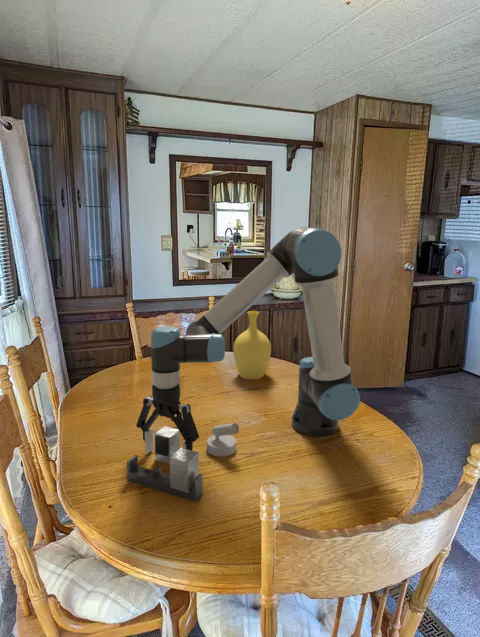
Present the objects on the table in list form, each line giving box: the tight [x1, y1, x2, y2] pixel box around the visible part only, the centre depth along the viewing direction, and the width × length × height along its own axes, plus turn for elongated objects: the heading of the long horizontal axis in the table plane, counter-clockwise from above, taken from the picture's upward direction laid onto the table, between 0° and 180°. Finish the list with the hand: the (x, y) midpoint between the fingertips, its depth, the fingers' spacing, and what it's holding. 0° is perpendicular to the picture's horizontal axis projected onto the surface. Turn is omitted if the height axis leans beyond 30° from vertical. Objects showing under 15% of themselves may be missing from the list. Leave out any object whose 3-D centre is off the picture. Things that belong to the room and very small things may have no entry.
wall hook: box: [206, 422, 240, 457], centre depth 127 cm, size 9×10×10 cm
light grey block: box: [153, 425, 181, 465], centre depth 122 cm, size 6×5×8 cm
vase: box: [232, 310, 272, 380], centre depth 186 cm, size 16×16×28 cm
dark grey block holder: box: [126, 447, 203, 503], centre depth 108 cm, size 20×5×10 cm, turn 65°
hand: (167, 456), depth 123 cm, fingers open, 12 cm apart
